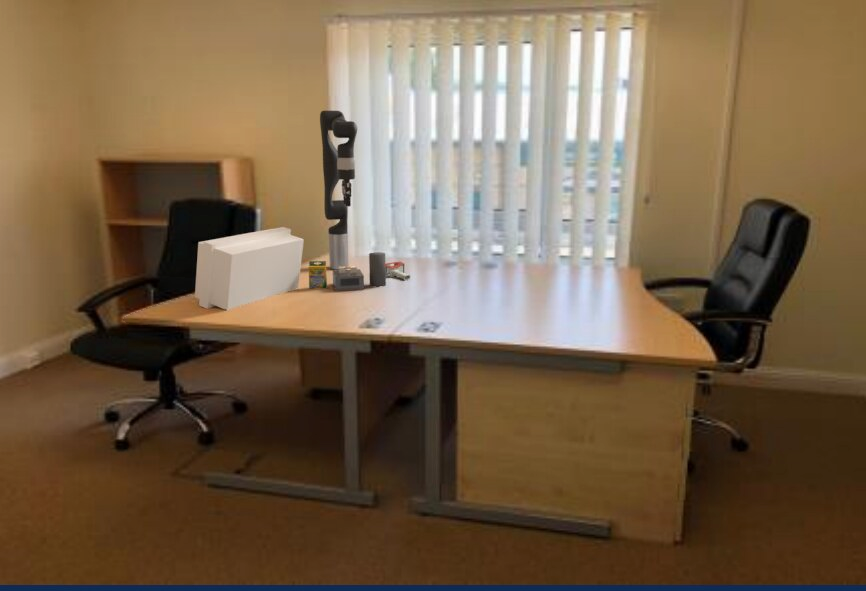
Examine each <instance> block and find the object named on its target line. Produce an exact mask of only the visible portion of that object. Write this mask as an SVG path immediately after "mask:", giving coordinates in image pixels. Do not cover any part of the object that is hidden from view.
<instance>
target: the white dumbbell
mask: <svg viewBox="0 0 866 591" xmlns="http://www.w3.org/2000/svg"><path fill="white" fill-rule="evenodd" d="M357 269H358V267H357V266H356V265H352V266H349V267H339V269H338V270H339V273H345V270H350V272H351V273H357Z"/></svg>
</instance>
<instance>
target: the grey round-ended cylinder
mask: <svg viewBox="0 0 866 591" xmlns="http://www.w3.org/2000/svg"><path fill="white" fill-rule="evenodd" d="M368 262H369V263H368V264H369V286H370V287H373V286H376V287H375V288H378V287H377V286H382V287H386V285H387V282H386V281H387V275H386V268H385V264H386V253H385V252H376V251H375V252H370V253H368Z"/></svg>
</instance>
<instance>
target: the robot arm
mask: <svg viewBox="0 0 866 591" xmlns="http://www.w3.org/2000/svg"><path fill="white" fill-rule="evenodd" d="M319 125H320V126H319V127H320V132H321V133H320V134H321V142H322V143H321V144H322V169H323V171H322V172H323V173H322V174H323V180H324V181H323V182H324V186H323V187H324V209H323V210H324V215H325V216H324V217H325V219H326V220H328V221H330V220H331V221H332V220H333V221H334V220H335V221H336V220H339V221H338V223H336V224H334V225H332V226H330V227H328V232H327V233H328V252H329V254H328V255H329V256H328V258H329V269H331V270H339V267H350V266H349V264H350V263H349V240H348V237H349V235H348V233H349V232H348V217H349V216H348V214H349V212H348V210H349V208H348V207H351V206H352V204H351V200H352V199H351V198H352V183H351V180H355V178H356V174H355V172H356V170H355V169H356V168H355V164H356V162H355V158H354V157H355V153H354V151H355V149H354V148H355V141H356V137H357V133H358V126H357V124H356V122H354V121H351V120H350V121H347V120H346V118H345V116H344V113H343V112H342V111H340V110H321V111H320V114H319ZM331 131H332V134H333V136H334V137H335V138H336V139H337V138H338V139H348V140H347V142H343V143H340V144H337V148H336V147H335V145H334V143H333V141H332V140H331V138H330V133H329V132H331ZM340 180H341V192H342V198H343V199H339V200H338V199H337V200H333V193H334V191H335V188H336V187H337V184H338V183H339V181H340Z"/></svg>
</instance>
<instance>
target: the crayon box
mask: <svg viewBox="0 0 866 591" xmlns="http://www.w3.org/2000/svg"><path fill="white" fill-rule="evenodd" d="M308 262H309V263H308V264H309V266H308V286H309V288H326V287H327V288H328V279H327V261H324V260H313V261H312V260H310V261H308ZM317 263H318V264H317ZM309 288H308V289H309ZM327 288H326V289H327Z"/></svg>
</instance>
